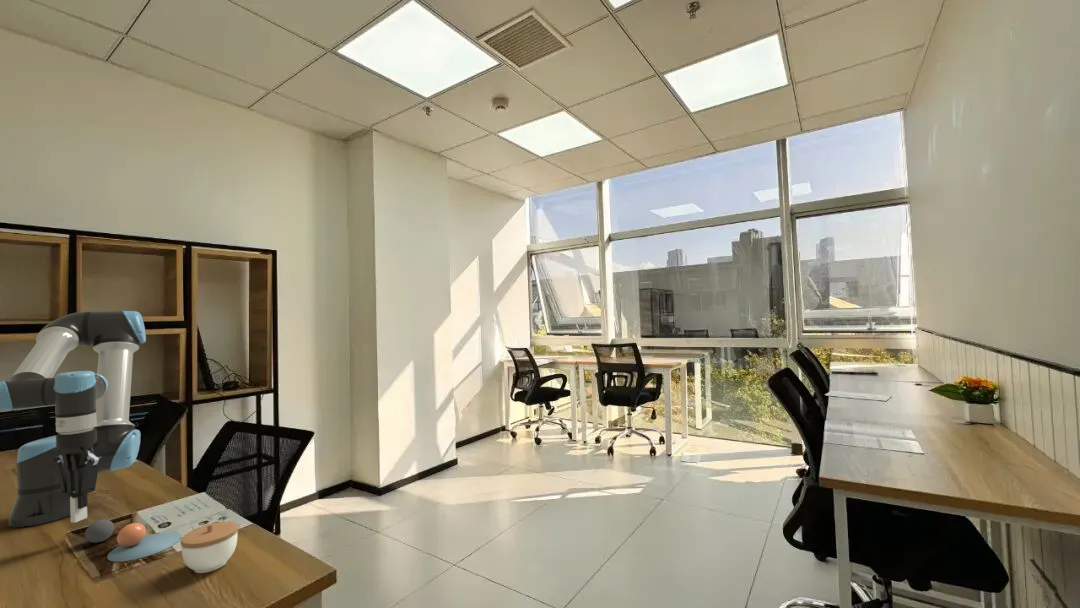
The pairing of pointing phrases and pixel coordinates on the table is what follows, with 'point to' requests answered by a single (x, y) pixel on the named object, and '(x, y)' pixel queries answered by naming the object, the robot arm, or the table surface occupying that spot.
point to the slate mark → (145, 547)
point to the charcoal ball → (99, 531)
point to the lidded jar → (209, 546)
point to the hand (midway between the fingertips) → (79, 519)
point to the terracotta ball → (131, 535)
